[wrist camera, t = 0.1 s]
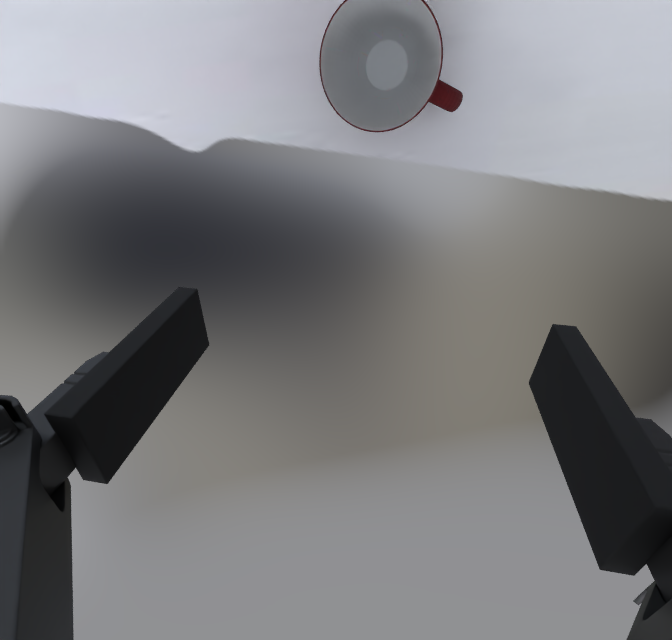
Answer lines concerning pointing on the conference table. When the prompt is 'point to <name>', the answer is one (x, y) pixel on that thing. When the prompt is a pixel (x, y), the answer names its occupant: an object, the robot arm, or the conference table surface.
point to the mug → (384, 63)
